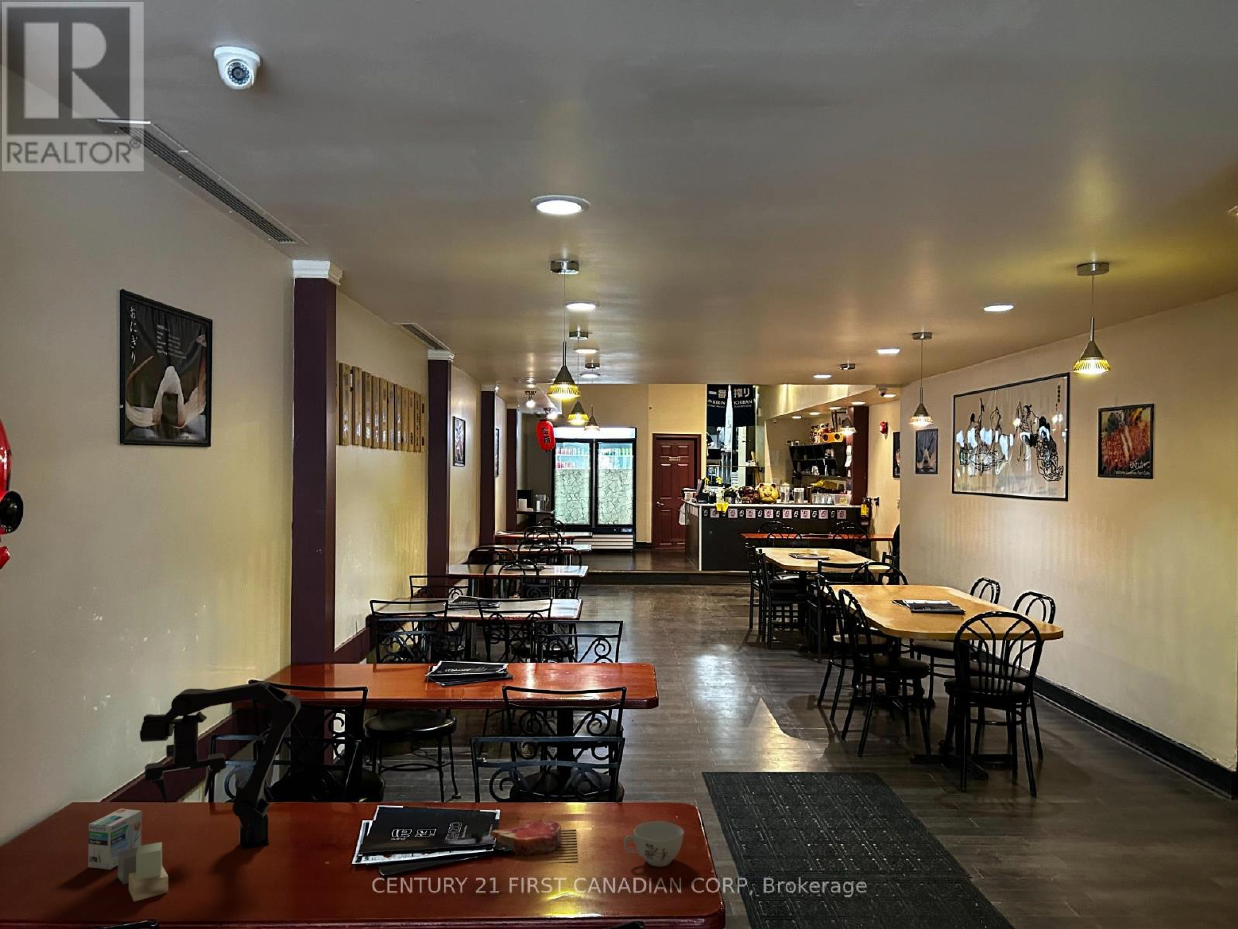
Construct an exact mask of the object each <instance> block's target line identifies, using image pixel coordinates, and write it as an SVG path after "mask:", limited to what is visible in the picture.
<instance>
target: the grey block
mask: <svg viewBox="0 0 1238 929" xmlns="http://www.w3.org/2000/svg"><path fill="white" fill-rule="evenodd" d="M137 849H138V847H136V848H133V849H129V850H125V851H122V852H118V865H117V878H118V879H119V880H120V882H121V883H122V885H126V884H129V874H130V873H134V872H136V853H137Z"/></svg>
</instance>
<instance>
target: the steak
mask: <svg viewBox="0 0 1238 929" xmlns="http://www.w3.org/2000/svg"><path fill="white" fill-rule="evenodd" d="M542 820H543V819H540V818H539V819H536V820H532V821H528V822H526V823H525V824H523V825H521V826H517V827H513V828H507V829H494V830H492V831H491V837H492V836H493V837H494V838H496V840H497V841H498V842H500V843H502V845H507V846H509V847H511V848H513V852H515V853H516V854H517V856H522V855H523V856H522V857H528V856H537V855H538V856H539V855H547V856H546V858H547V859H546V860H549V854H551V855H554V856H550V858H553V859H551V861H553V862H551V864H573V863H575V864H576V863H577V864H579V857H578V846H577V845H578V843H577V842H578V840H577V836H578V835H577V829H564V830H563V829H562V825H561V823H559V822H558V821H557V822H556V821H553V820H547V821H544V822H543V821H542ZM564 840H565V841H564ZM570 851H572V852H570ZM554 852H555V853H554ZM516 854H515V855H516ZM566 854H567V855H566ZM569 854H570V855H569ZM567 857H568V858H567ZM571 860H572V861H571ZM574 860H575V861H574ZM554 861H556V862H554ZM548 864H549V863H546V865H548Z"/></svg>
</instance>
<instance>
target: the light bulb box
mask: <svg viewBox="0 0 1238 929" xmlns="http://www.w3.org/2000/svg"><path fill="white" fill-rule="evenodd" d="M142 818H143V810H137V809H129V808H128V809H127V808H119V809H117V810H115V811H113V812H111V813H109V814H108V815H106V816H103V817H101V818H98V819H97V820H94V821H93V822H91V823H88V868H94V869H103V870H109V871H110V870H112V869H114V868H116V867H118V852H122V851H125V850H129V849H133V848H136V847H138V846H141V845H142V829H143V828H142V826H143V825H142V824H143V823H142V822H143V821H142V820H143V819H142Z"/></svg>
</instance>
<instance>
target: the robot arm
mask: <svg viewBox="0 0 1238 929" xmlns="http://www.w3.org/2000/svg"><path fill="white" fill-rule="evenodd" d="M251 700H257V701H259V702H260V704H262V706H264V708H265V709H266V710H268V711H269V712H270V713H272V714H271V718H270V726H269V732H268V733H267V736H266V738H265V741H264V744H263V745H262V748H261V751H260V752H259V755H258V758H257V760H256V761H255V764H254V767H253V769H252V772H251V773H250V776H249V779H248V780H245V779H243V780H242V781H241V782H240V784H239V785H238V786H237V788H236V789H237V790H236V792H235V796H234V798H232V800H231V803H233V804H232V811H233V814H234V815H235V816H236V817H237V818H239V822H240V825H239V827H238V837H239V838H238V842H239V845H241V848H242V849H243V850H245V849H250V848H254V847H260V846H265V845H269V844H270V839H269V816H268V814H267V813H268V812H269V809H270V807H271V804H270V803H269V802H268V801H266V800H265V799H264V798H263V794H264V788H265V781H266V778H267V776H268V773H269V771H270V768H271V766H272V764H273V761H274V760H275V757H276V754H277V752H278V749H279V747H280V744H281V742H282V739H284V738H283V737H284V735H285V732H286V731H287V729H288V728H289V726H290V725H291V723H292V721H293V720H294V719H295V717H296V716H297V714H298V713H299V711H300V709H301V707H302V706H301V701H300V699H299V698H298V697H297V696H296V695H294V694H289V693H287V692H286V691H285V690H282V689H280V688H278V687H276V686H274V685H272V684H270V683H269V682H267V681H266V680H259V681H257V682H252V683H246V684H240V685H234V686H233V685H232V686H229V687H228V686H227V687H221V688H216V689H205V688H187V689H184V690H181V692H180V693H178V694H177V695H176V696H175V697H174V698H173V699H172V701H171V703H170V704H171V705H170V709H169V710H168V711H167V712H166V713H165V714H164V713H163V714H151V713H149V714H145V715H144V716H143V722H142V724H141V728H140V731H139V739H140V741H141V742H142V743H147V742H149V743H150V742H166V741H168V739H169V737H172V736H173V744H167V745H165V746H166V747H165V751H166V752H165V754H166V755H165V757H166V759H168V758H172V762H173V764H172V763H171V764H168V765H166V764H165V765H163V762H162V761H157V762H152V763H147V764H146V765H145V766H144V781H146V782H150V784H155V785H156V787H157V788H158V790H159V792H160V794H161V797H162V800H163V802H164V804H167V803H168V802H167V790H166V783H165V779H164V778H165V777H164V774H167V773H168V774H169V773H170V774H171V773H175V772H181V771H189V770H195V769H201V768H206V771H205V772H206V773H205V781H204V788H203V796H204V797H207V795H208V793H209V790H210V788H211V784H212V782H213V780H214V779H215V777H216V775H217V774H219V773H221V770H224V769H226V768H227V761H226V756H225V754H224V753H223V752H219V753H213V754H208V755H207V758H206V759H199V724H201V723H204V722H205V721H206V720H207V719H208V717H207V716H206V715H205V714H203V712H202V711H203V710H205V709H208V708H210V707H216V706H220V705H226V704H227V705H228V704H232V703H238V702H244V701H251ZM194 713H196V714H194ZM178 717H180V718H178ZM181 717H182V718H181Z"/></svg>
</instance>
